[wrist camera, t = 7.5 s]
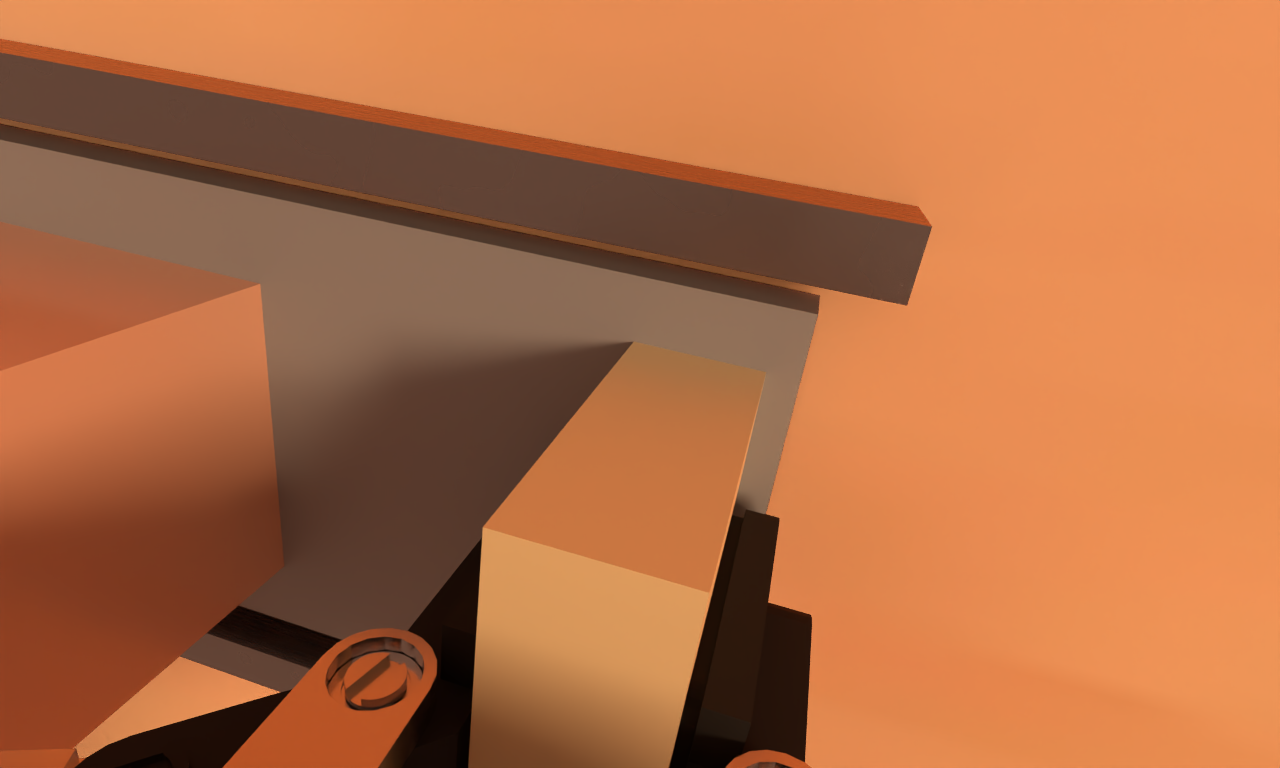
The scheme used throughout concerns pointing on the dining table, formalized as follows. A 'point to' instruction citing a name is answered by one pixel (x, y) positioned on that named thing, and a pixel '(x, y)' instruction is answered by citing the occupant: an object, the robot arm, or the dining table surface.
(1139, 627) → the dining table surface
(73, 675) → the block
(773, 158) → the dining table surface
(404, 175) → the rails
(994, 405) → the dining table surface
